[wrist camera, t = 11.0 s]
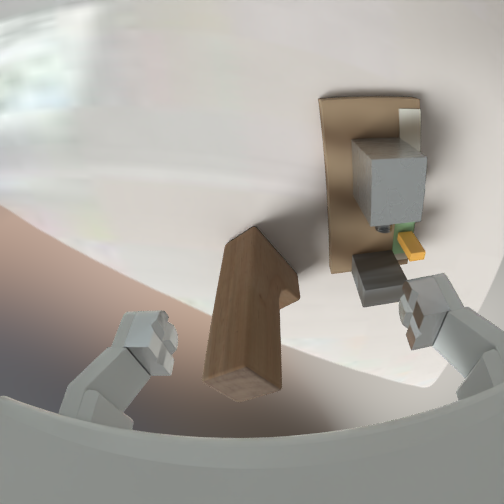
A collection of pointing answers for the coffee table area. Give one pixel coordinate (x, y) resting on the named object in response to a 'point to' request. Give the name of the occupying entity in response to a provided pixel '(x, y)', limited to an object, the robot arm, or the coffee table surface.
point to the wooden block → (249, 319)
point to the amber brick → (411, 246)
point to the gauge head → (388, 181)
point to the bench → (344, 204)
